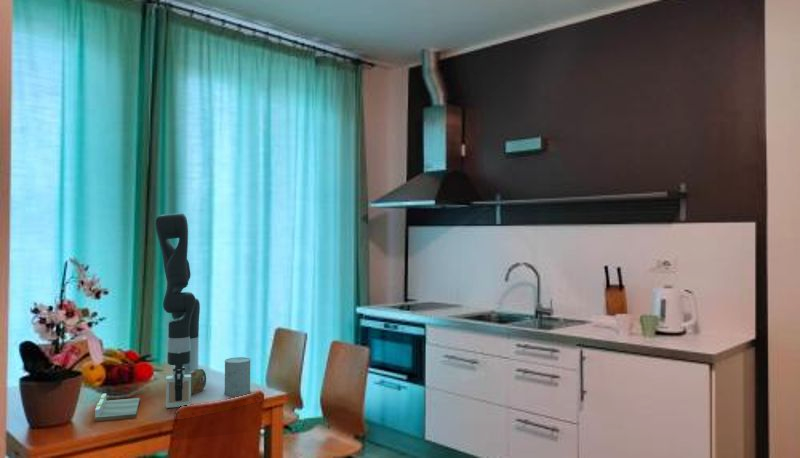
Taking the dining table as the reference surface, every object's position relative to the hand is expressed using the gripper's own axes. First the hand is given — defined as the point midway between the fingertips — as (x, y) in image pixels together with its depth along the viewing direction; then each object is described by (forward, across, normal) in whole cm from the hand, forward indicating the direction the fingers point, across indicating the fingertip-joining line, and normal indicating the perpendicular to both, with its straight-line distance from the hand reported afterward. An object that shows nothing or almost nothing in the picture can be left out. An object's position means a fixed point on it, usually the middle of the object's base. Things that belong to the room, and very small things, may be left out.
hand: (178, 398), depth 207 cm
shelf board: (+3, -1, -19) cm, 19 cm away
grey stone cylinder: (+3, -12, +21) cm, 24 cm away
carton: (+2, 0, 0) cm, 2 cm away
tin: (+3, -16, +5) cm, 17 cm away
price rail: (+1, -1, -25) cm, 25 cm away
